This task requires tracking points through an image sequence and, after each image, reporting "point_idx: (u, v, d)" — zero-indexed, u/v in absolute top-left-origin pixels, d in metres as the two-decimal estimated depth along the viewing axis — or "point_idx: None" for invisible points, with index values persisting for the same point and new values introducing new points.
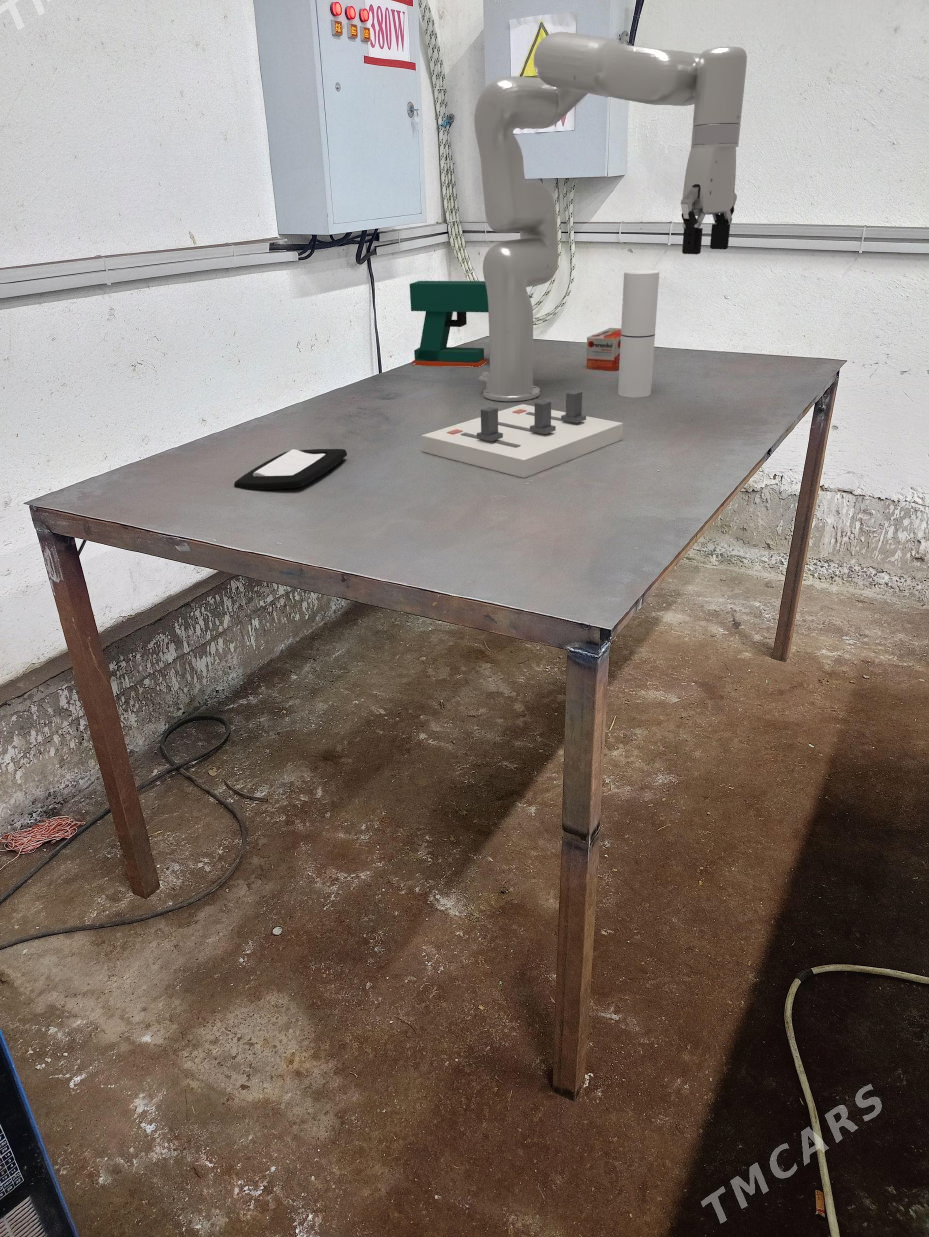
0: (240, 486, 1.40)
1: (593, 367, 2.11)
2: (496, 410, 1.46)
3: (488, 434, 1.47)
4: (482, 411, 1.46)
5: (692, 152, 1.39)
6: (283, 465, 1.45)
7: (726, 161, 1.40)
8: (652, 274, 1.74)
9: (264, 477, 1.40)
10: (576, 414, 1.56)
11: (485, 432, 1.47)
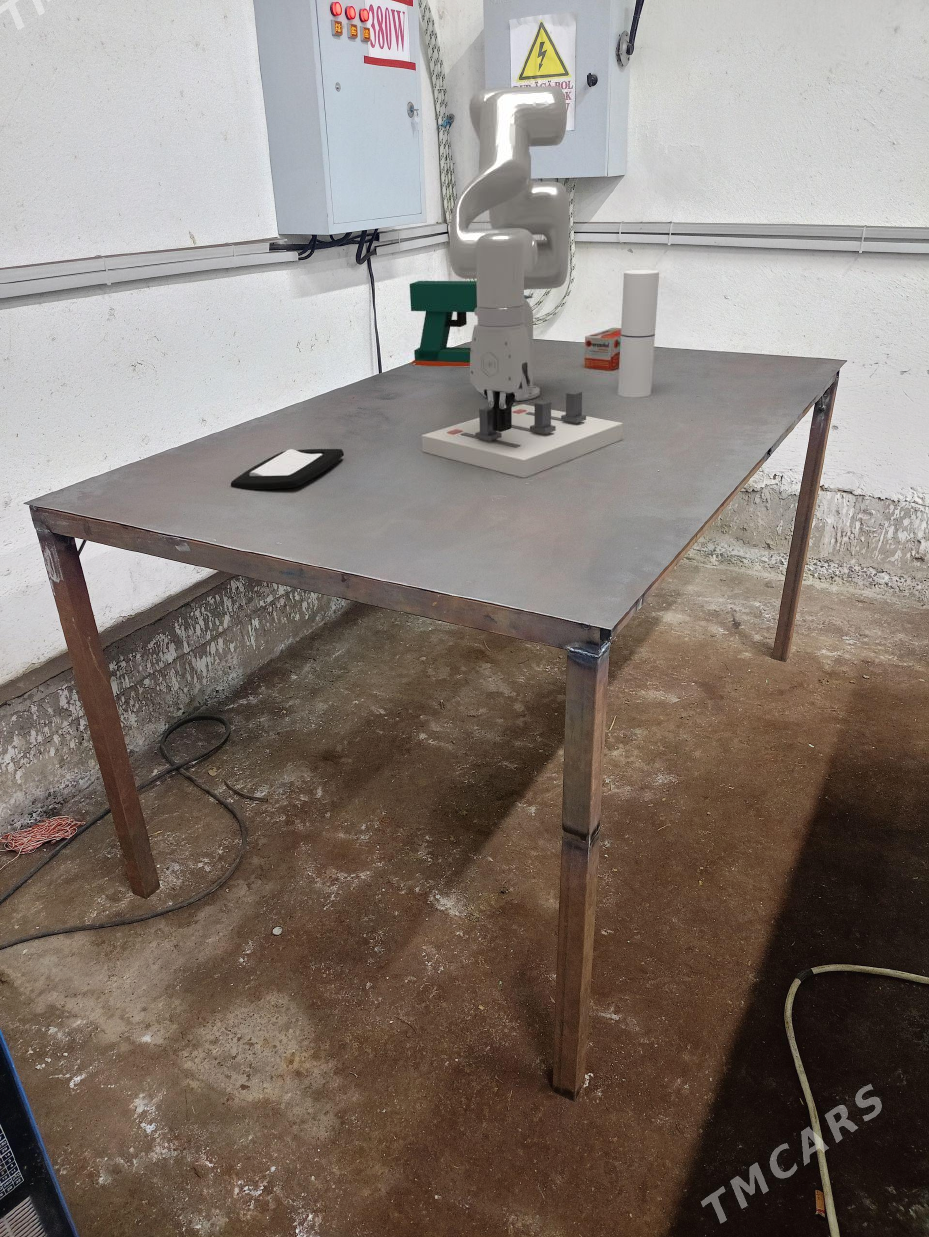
0: (237, 486, 1.40)
1: (591, 366, 2.12)
2: None
3: (487, 434, 1.47)
4: (481, 411, 1.46)
5: (515, 334, 1.35)
6: (280, 465, 1.45)
7: None
8: (652, 274, 1.74)
9: (261, 477, 1.40)
10: (576, 414, 1.56)
11: (484, 431, 1.47)
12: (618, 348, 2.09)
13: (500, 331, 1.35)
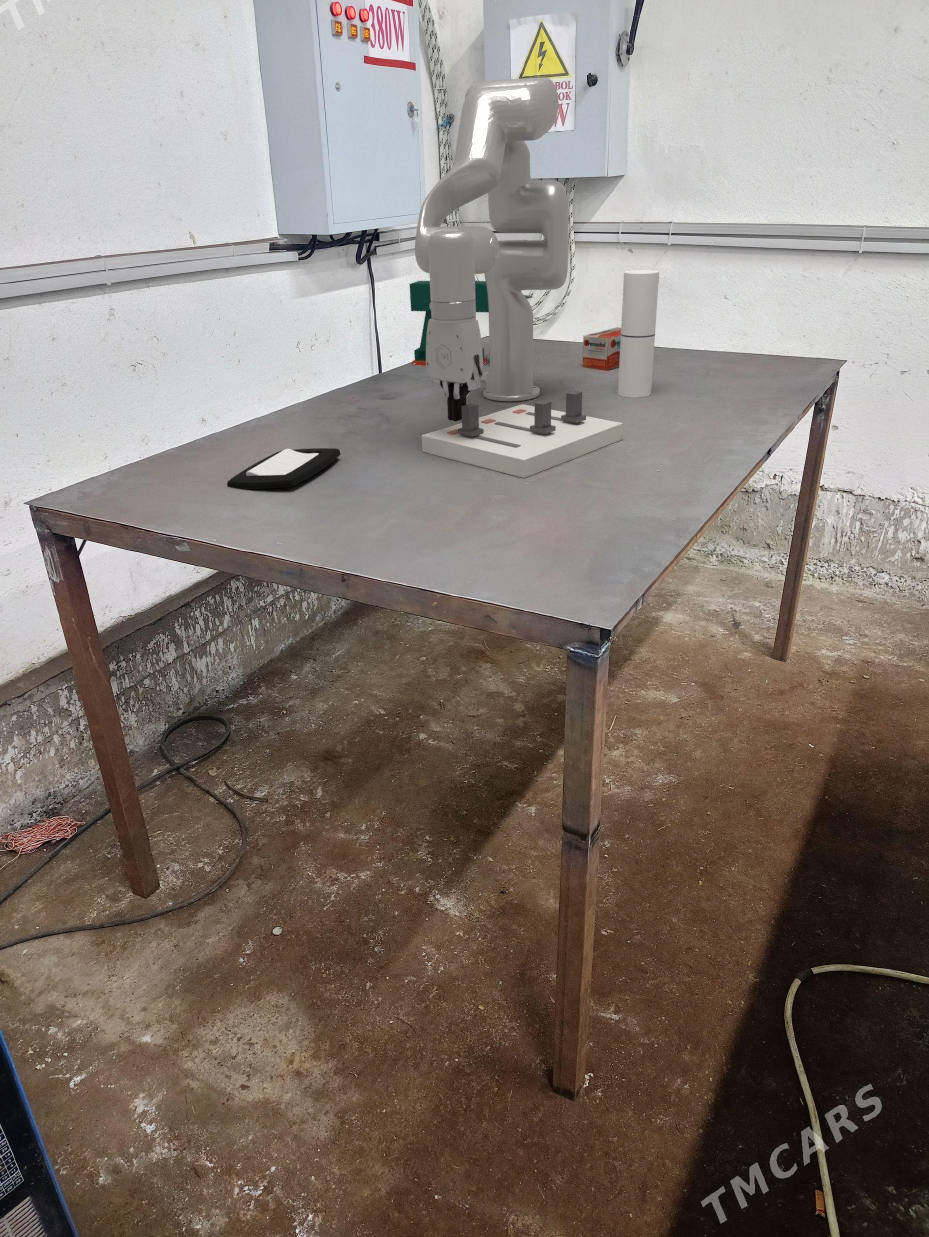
0: (233, 485, 1.40)
1: (588, 366, 2.13)
2: (476, 406, 1.49)
3: (469, 430, 1.50)
4: (463, 407, 1.49)
5: (466, 327, 1.41)
6: (276, 464, 1.45)
7: None
8: (652, 274, 1.74)
9: (257, 477, 1.40)
10: (576, 414, 1.56)
11: (466, 427, 1.50)
12: (615, 348, 2.09)
13: (452, 324, 1.42)
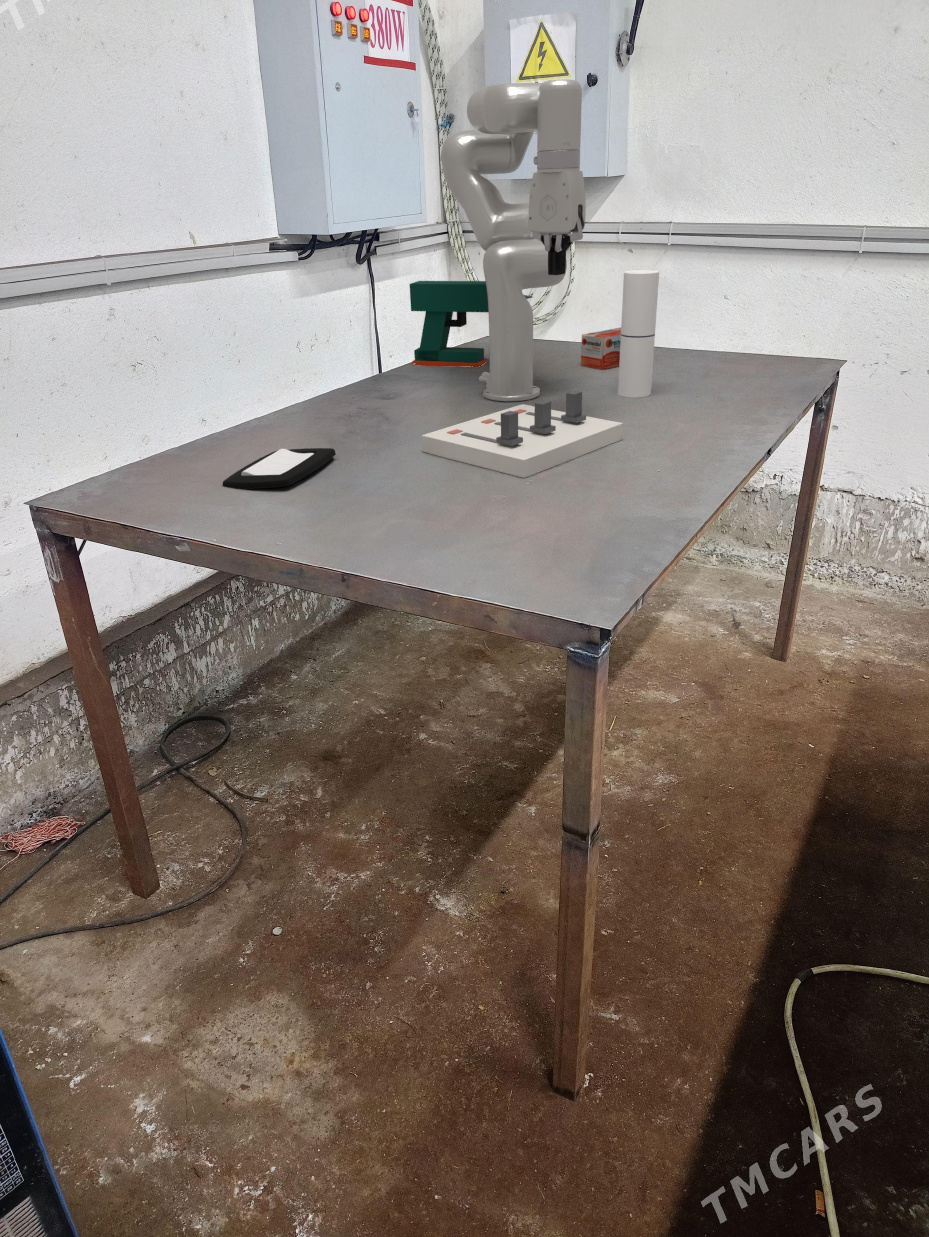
0: (228, 485, 1.40)
1: (586, 364, 2.14)
2: (516, 414, 1.44)
3: (508, 439, 1.44)
4: (502, 415, 1.43)
5: (573, 175, 1.48)
6: (272, 464, 1.46)
7: None
8: (652, 274, 1.74)
9: (252, 476, 1.41)
10: (576, 414, 1.56)
11: (505, 436, 1.44)
12: (612, 348, 2.10)
13: (559, 173, 1.48)
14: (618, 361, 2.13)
